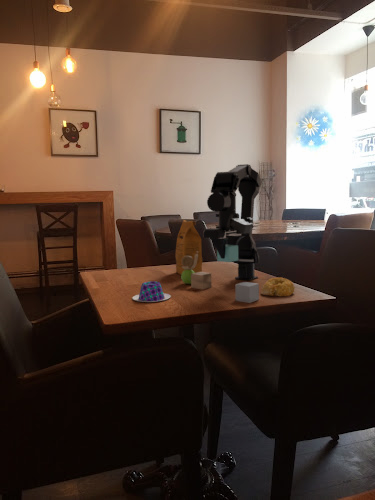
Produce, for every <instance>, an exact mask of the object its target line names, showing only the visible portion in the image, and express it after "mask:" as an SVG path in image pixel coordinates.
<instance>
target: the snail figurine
mask: <svg viewBox="0 0 375 500" xmlns="http://www.w3.org/2000/svg"><path fill="white" fill-rule="evenodd" d="M197 253H198V251H197ZM194 257H195V259H194V260H193V258H192V257H191V256H184V257H183V258H182V265H183V266H182V268H183V269H185V270H184V271H183V272H182V275H180V278H181V280H182V282H183V283H184V284H186V285H191V274H193V273H195V272H194V271H193V270H191V269H193V268H195V266H196V264H197V259H198V254H196V255H195V256H194Z"/></svg>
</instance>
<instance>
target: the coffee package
mask: <svg viewBox="0 0 375 500" xmlns="http://www.w3.org/2000/svg"><path fill="white" fill-rule="evenodd" d="M195 225H196V222H195V221H193V220H190V221H187V220H186V219H183V221H182V223H181V225H180V229H179V231H178V234H177V238H176V246H175V264H176V265H175V271H176V273H177V274H178V275H179V276H181V275H182V272H183V271H184V270H185V269H183V268H182V266H183V265H182V258H183V257H184V256H191V257H192V258H193V260H194V259H195V257H194V256H195V255H196V254H198V259H197V264H196V266H195V268H193V269H191V270H193V271H194V272H195V273H197V272H203V257H202V252H203V251H202V250H203V249H202V238H201V236H200V234H199V232H198V230H196V227H195ZM197 251H198V253H197Z"/></svg>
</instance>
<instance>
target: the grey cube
mask: <svg viewBox="0 0 375 500" xmlns="http://www.w3.org/2000/svg"><path fill="white" fill-rule="evenodd" d="M234 288H235V302H241V303H248V304H251V303H253V302H257V301H259V300H260V285H259V283H256V282H247V281H243V282H239V283H236V284H235V287H234Z"/></svg>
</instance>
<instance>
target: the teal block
mask: <svg viewBox="0 0 375 500" xmlns="http://www.w3.org/2000/svg"><path fill="white" fill-rule="evenodd" d="M216 258H217V260H216V261H217V262H224V263H232V262H233V263H234V261H237V260H238V245H228V244H226V246H225V258H224V259H222V258H221V257H220V255H219V253H218V251H217V250H216Z"/></svg>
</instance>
